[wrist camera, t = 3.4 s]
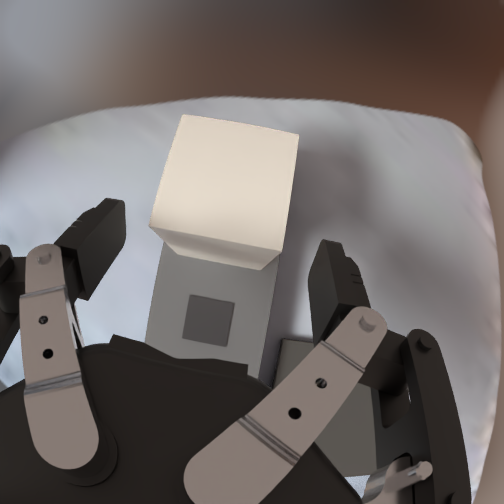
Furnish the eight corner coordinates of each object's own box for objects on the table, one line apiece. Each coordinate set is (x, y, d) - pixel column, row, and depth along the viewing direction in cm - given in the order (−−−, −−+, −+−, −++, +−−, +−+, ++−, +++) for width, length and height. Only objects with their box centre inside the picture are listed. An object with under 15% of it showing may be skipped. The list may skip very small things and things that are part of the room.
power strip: (142, 436, 18) (131, 453, 15) (197, 147, 22) (194, 126, 19) (236, 455, 18) (238, 475, 15) (288, 164, 22) (297, 145, 19)
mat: (253, 472, 18) (253, 476, 17) (281, 338, 20) (283, 339, 19) (379, 470, 19) (382, 473, 18) (413, 351, 20) (417, 352, 20)
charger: (182, 259, 20) (148, 225, 11) (198, 188, 20) (182, 114, 12) (257, 273, 20) (281, 251, 11) (269, 202, 21) (299, 134, 12)
